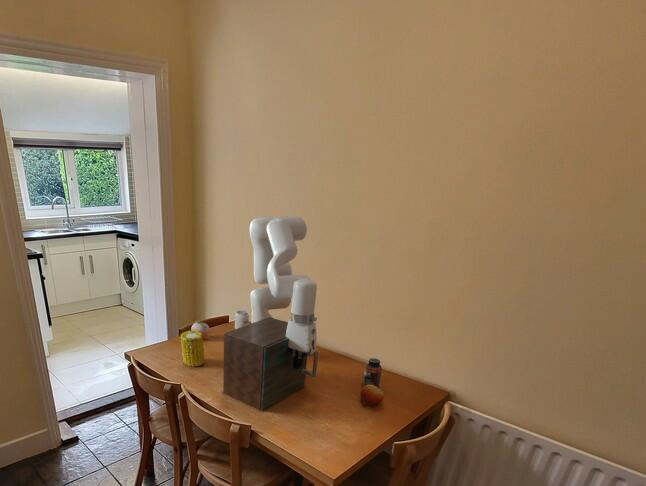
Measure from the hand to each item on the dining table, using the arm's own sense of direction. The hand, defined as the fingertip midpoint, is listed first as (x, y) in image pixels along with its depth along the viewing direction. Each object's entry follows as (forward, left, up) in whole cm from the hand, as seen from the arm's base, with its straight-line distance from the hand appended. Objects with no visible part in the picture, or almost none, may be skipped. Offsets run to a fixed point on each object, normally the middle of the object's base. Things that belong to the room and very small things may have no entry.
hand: (297, 367), depth 145 cm
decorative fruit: (-17, -69, -13) cm, 73 cm away
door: (+2, -1, -13) cm, 13 cm away
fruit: (-17, +21, -13) cm, 30 cm away
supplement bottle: (-29, +15, -13) cm, 35 cm away
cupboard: (+2, -13, -13) cm, 19 cm away
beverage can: (-37, -59, -13) cm, 71 cm away
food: (+5, -50, -13) cm, 52 cm away
